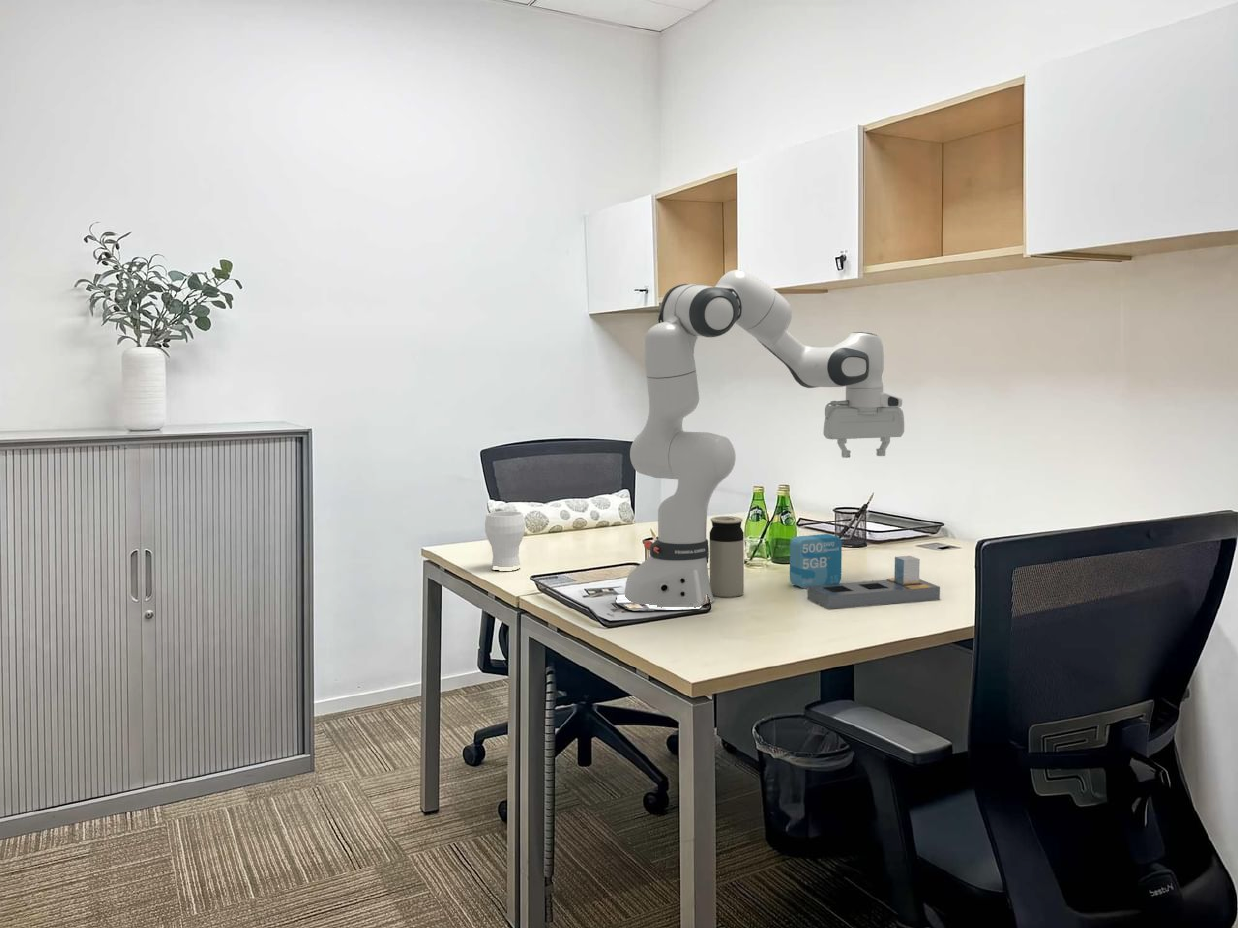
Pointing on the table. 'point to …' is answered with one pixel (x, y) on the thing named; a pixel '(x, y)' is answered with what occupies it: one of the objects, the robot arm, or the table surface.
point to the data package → (815, 560)
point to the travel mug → (726, 557)
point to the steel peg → (906, 570)
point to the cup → (505, 536)
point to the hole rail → (871, 593)
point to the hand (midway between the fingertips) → (863, 456)
